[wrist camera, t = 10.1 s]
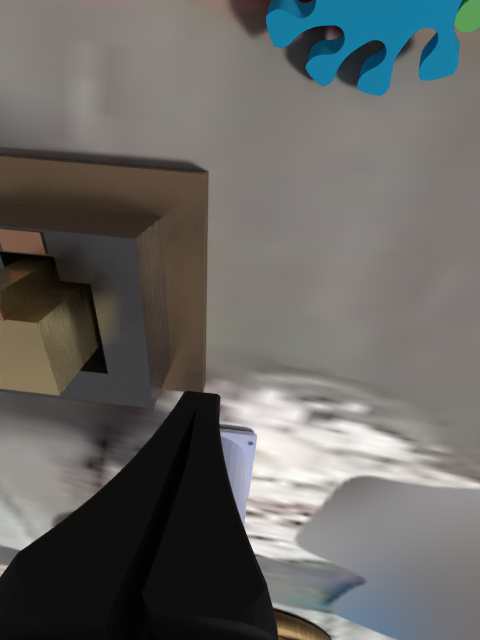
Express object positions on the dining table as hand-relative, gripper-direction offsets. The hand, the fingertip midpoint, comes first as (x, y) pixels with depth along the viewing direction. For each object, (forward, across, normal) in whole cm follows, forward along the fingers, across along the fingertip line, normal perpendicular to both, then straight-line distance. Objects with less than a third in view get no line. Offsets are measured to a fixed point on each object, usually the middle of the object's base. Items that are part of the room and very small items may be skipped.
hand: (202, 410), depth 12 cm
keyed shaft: (+8, +9, 0) cm, 12 cm away
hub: (+9, +9, 0) cm, 13 cm away
